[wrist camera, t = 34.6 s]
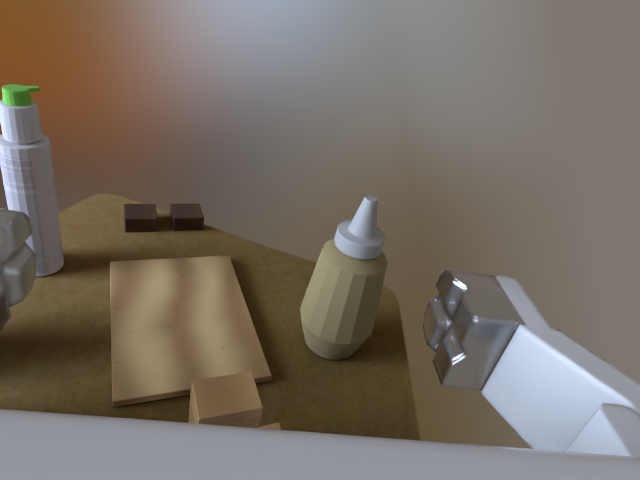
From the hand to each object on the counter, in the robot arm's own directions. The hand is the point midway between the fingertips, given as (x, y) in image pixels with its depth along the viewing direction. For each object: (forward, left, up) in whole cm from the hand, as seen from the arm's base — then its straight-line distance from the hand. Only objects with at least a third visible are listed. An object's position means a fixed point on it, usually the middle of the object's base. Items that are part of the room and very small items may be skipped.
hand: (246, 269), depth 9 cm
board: (-4, -31, -30) cm, 43 cm away
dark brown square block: (-7, -50, -30) cm, 59 cm away
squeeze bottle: (-19, -25, -30) cm, 43 cm away
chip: (-1, -50, -30) cm, 58 cm away
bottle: (+10, -42, -30) cm, 52 cm away
